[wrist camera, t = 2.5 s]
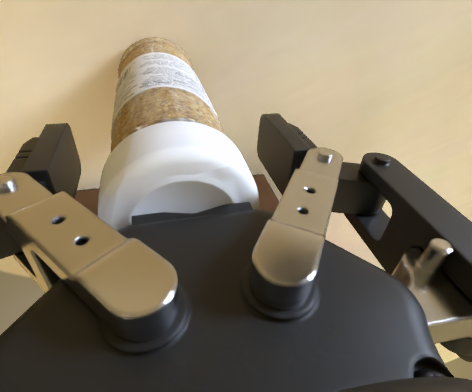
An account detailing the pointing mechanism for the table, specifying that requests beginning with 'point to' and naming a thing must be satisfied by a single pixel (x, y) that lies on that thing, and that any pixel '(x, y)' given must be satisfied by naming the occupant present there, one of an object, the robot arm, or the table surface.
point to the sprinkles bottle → (167, 142)
